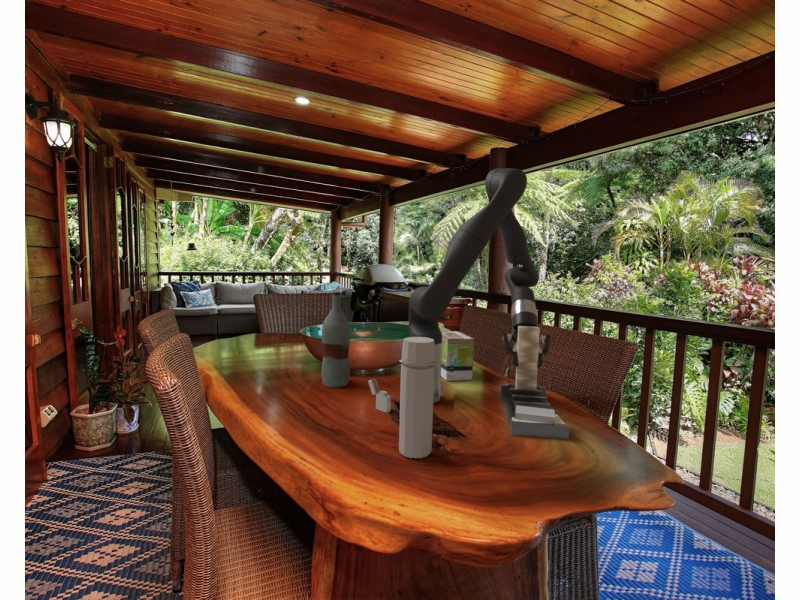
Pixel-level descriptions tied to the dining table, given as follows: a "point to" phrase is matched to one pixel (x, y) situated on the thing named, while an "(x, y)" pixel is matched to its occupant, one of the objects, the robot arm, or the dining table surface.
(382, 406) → the lighter
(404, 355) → the water bottle
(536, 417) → the offcut stack
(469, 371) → the tea box
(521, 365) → the beige tall block
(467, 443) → the dining table surface
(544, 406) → the rack
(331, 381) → the vodka
